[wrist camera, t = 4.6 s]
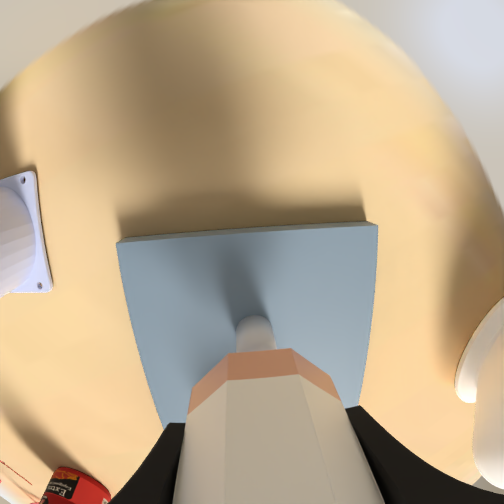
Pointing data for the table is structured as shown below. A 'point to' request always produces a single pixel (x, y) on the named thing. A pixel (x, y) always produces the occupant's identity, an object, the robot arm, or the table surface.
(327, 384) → the sleeve
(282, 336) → the pin board
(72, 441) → the table surface
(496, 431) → the decorative vase
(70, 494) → the canned food
